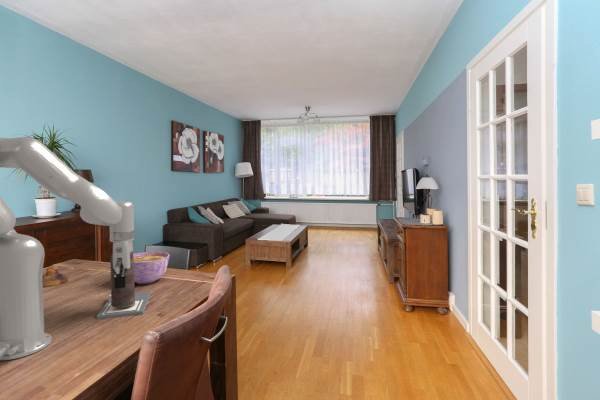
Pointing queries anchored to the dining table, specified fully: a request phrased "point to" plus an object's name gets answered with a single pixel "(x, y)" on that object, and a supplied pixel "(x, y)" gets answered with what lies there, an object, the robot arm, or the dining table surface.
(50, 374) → the dining table surface
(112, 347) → the dining table surface
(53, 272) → the orange purple rounded piece
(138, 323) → the dining table surface
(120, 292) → the brown cylinder
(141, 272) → the bowl of food
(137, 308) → the grey piece
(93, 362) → the dining table surface
